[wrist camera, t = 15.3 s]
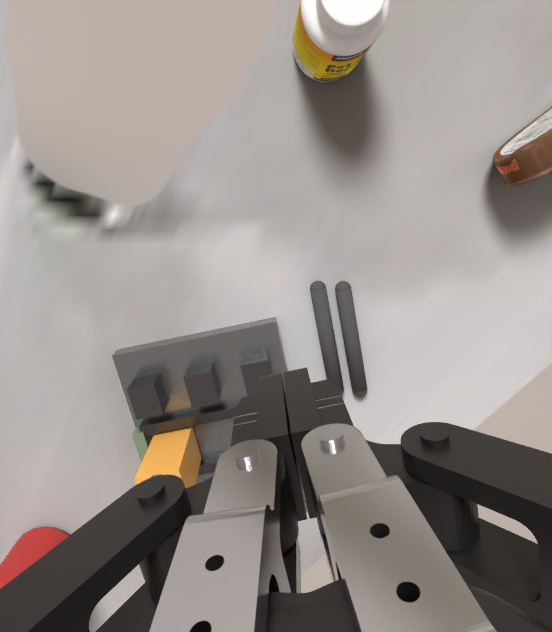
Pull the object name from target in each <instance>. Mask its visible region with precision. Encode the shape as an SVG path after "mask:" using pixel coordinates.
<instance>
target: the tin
mask: <svg viewBox="0 0 552 632" xmlns="http://www.w3.org/2000/svg"><path fill="white" fill-rule="evenodd" d="M493 162H494V164H495V166H496V168H497V170H498V171H499V173H500V174H501V176H502V178H503V179H504V184H505V185H506V186H516V185H520V184H523V183H526V182H529V181H531V180H534V179H536V178H538V177H540V176H543V175H545V174H547V173H549V172H551V171H552V107H551V108H550V109H548V110H547V111H546V112H544V113H543V114H542V115H540V116H539V117H538V118H536V119H535V120H534V121H532V122H531V123H530V124H528V125H527V126H526V127H525V128H523V129H522V130H521V131H519V132H518V133H517V134H515V135H514V136H513V137H512V138H510V139H509V140H508V141H507V142H506V143H504V144H503V145H502V146H501V147H500V148H499V149H498V150H497V151H496V153H495V154H494V156H493Z"/></svg>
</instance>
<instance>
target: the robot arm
mask: <svg viewBox="0 0 552 632" xmlns="http://www.w3.org/2000/svg"><path fill="white" fill-rule="evenodd" d="M283 375H284V382H283V378H282V374H281V373H278V374H273V375H268V376H263V377H258V381H257V394H255V395H250V396H245V397H243V398H242V399H241V400H240V401H239V403H238V404H237V405H236V406H235V413H234V422H233V425H234V426H233V431H232V439H231V447H230V448H229V449H227V450H226V451H225V452H224V453H223V454H222V455H221V456H220V458H219V460H218V462H217V466H216V470H215V473H214V476H212V477H211V478H209V479H207V480H205V481H203V482H200V483H198V484H195V485H193V486H191V487H188V488H186V489H185V485H184V482H183V480H182V479H181V478H180V477H178V476H175V475H159V476H155V477H152V478H149V479H146V480H144V481H142V482H140V483H139V484H137V485H136V486H134V487H133V488H131V489H130V490H129V491H127V492H126V493H125V494H123V495H122V496H121V497H120V498H118V499H117V500H116V501H114V502H113V503H112V504H110V505H109V506H108V507H106V508H105V509H104V510H103V511H101V512H100V513H99V514H97V515H96V516H95V517H93V518H92V519H91V520H90V521H88V522H87V523H86V524H84V525H83V526H82V527H80V528H79V529H78V530H76V531H75V532H74V533H73V534H71V535H70V536H69V537H67V538H66V539H65V540H63V541H62V542H61V543H59V544H58V545H57V546H56V547H54V548H53V549H52V550H50V551H49V552H48V553H46V554H45V555H44V556H42V557H41V558H40V559H39V560H37V561H36V562H35V563H33V564H32V565H31V566H29V567H28V568H27V569H26V570H24V571H23V572H22V573H20V574H19V575H18V576H16V577H15V578H14V579H12V580H11V581H10V582H9V583H7V584H6V585H5V586H3V587H2V588H1V589H0V632H90V631H89V620H90V616H91V613H92V611H93V609H94V608H95V606H96V605H97V603H98V602H99V601H100V600H101V599H102V598H103V597H104V596H105V595H106V594H107V593H108V592H109V591H110V590H111V589H112V588H113V587H115V586H116V585H117V584H118V583H119V582H120V581H121V580H122V579H123V578H124V577H125V576H126V575H127V574H128V573H130V572H131V571H132V570H133V569H134V568H135V567H136V566H137V565H138V564H139V565H140V568H141V571H142V574H143V577H144V579H145V583H144V584H143V585H142V586H141V587H140V588H139V589H138V590H137V591H136V592H135V593H134V594H133V595H132V596H131V597H130V598H129V599H128V600H127V601H126V602H125V603H124V604H123V605H122V606H121V607H120V608H119V609H118V610H117V611H116V612H115V613H114V614H113V615H112V616H111V617H110V618H109V619H108V620H107V621H106V622H105V623H104V624H103V625H102V626H101V627H100V628H99V629H98V630H97V631H96V632H552V454H550V453H547V452H544V451H540V450H537V449H533V448H530V447H527V446H524V445H520V444H516V443H513V442H510V441H507V440H503V439H500V438H496V437H493V436H490V435H486V434H483V433H479V432H476V431H473V430H469V429H466V428H462V427H459V426H456V425H452V424H448V423H442V422H429V423H422V424H418V425H415V426H413V427H411V428H409V429H408V430H406V431H405V432H404V433H403V435H402V437H401V444H378V443H373V442H370V441H367V440H365V438H364V437H363V435H362V433H361V432H360V431H359V430H358V429H357V428H355V427H354V426H353V423H352V421H351V418H350V416H349V413H348V411H347V408H346V406H345V404H344V401H343V399H342V396H341V394H340V391H339V389H338V386H337V385H335V384H334V383H332V382H330V381H329V380H323V381H318V382H313V383H311V382H310V378H309V375H308V371H307V368H302V369H297V370H292V371H287V372H283ZM284 383H285V387H284ZM302 486H303V488H302ZM303 490H304V495H305V499H306V504H307V508H308V513H309V517H310V518H315V517H317V521H318V525H319V530H320V534H321V539H322V544H323V548H324V551H325V555H326V558H327V562H328V566H329V569H330V573H331V576H332V580H333V582H332V583H330V584H328V585H326V586H323V587H321V588H319V589H317V590H315V591H312V592H309V593H301V566H300V546H299V542H298V521H301V520H306V519H307V516H306V509H305V502H304V495H303ZM477 504H479V505H481V506H484V507H486V508H489V509H491V510H493V511H496V512H498V513H500V514H503V515H505V516H508V517H510V518H512V519H515V520H517V521H519V522H520V523H522V524H523V525H524V526H526V527H527V528H528V529H529V530H530V531H531V532H532V533H533V535H534V536H535V538H536V540H537V542H538V544H536V543H534V542H532V541H530V540H528V539H525V538H523V537H521V536H519V535H516V534H514V533H512V532H510V531H507V530H505V529H503V528H501V527H498V526H496V525H494V524H492V523H489V522H487V521H485V520H483V519H480V518H479V517H478V508H477Z"/></svg>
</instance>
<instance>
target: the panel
mask: <svg viewBox="0 0 552 632" xmlns="http://www.w3.org/2000/svg"><path fill="white" fill-rule="evenodd" d="M112 357H113V360H114V363H115V366H116V369H117V372H118V375H119V378H120V381H121V384H122V387H123V390H124V393H125V396H126V399H127V402H128V405H129V408H130V412H131V415H132V418H133V421H134V424H135V427H136V428H135V430H134V432H133V434H132V435H133V438H134V441H135V444H136V447H137V450H138V453H139V456H140V459H141V462H142V461H143V459H144V456H145V454H146V452H147V449H148V447H149V445H150V443H151V440H152V438H153V436H154V434H157V433H162V432H167V431H171V430H176V429H181V428H186V427H191V426H192V427H193V430H194V433H195V437H196V440H197V444H198V447H199V451H200V454H201V463H200V467H199V472H198V476H197V481H196V484H198V483H200V482H203V481H205V480H207V479H209V478H211V477H212V476H214V473H215V470H216V466H217V462H218V460H219V458H220V456H221V455H222V454H223V453H224V452H225V451H226V450H227V449H229V448H230V447H231V439H232V431H233V426H234V425H233V422H234V413H235V406H236V405H237V404H238V403H239V401H240V400H241V399H242V398H243V397H245V396H250V395H255V394H257V381H258V377H263V376H268V375H273V374H278V373H281V374H282V378H283V382H284V375H283V372H287V370H286V365H285V361H284V356H283V351H282V347H281V342H280V337H279V333H278V328H277V323H276V319H275V317H274V318H270V319H265V320H260V321H255V322H250V323H245V324H241V325H236V326H231V327H226V328H221V329H216V330H212V331H207V332H202V333H197V334H192V335H188V336H183V337H178V338H173V339H168V340H163V341H159V342H154V343H149V344H144V345H139V346H134V347H130V348H125V349H120V350H117V351H116V352H115V353H114V354H113V355H112ZM284 387H285V383H284ZM302 488H303V486H302ZM303 495H304V490H303ZM304 502H305V509H308V508H307V504H306V499H305V495H304Z"/></svg>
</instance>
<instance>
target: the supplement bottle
mask: <svg viewBox="0 0 552 632" xmlns="http://www.w3.org/2000/svg"><path fill="white" fill-rule="evenodd" d="M389 4H390V0H301V1H300V6H299V10H298V15H297V19H296V24H295V28H294V33H293V40H292V46H293V53H294V56H295V59H296V62H297V64H298V65H299V67H300V68H301V70H302V71H303V72H304V73H305V74H306V75H307V76H309V77H310V78H312V79H314V80H317V81H320V82H333V81H337V80H339V79H341V78H343V77H345V76H346V75H348V74H349V73H350V72H351V71H352V70H353V69H354V67H355V66H356V65H357V64H358V62H359V61H360V60H361V58H362V57H363V56H364V55H365V53H366V52H367V51H368V50H369V48H370V47H371V46H372V44H373V43H374V42H375V40H376V39H377V38H378V36H379V35H380V33H381V32H382V30H383V28H384V26H385V23H386V21H387V17H388V13H389Z"/></svg>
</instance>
